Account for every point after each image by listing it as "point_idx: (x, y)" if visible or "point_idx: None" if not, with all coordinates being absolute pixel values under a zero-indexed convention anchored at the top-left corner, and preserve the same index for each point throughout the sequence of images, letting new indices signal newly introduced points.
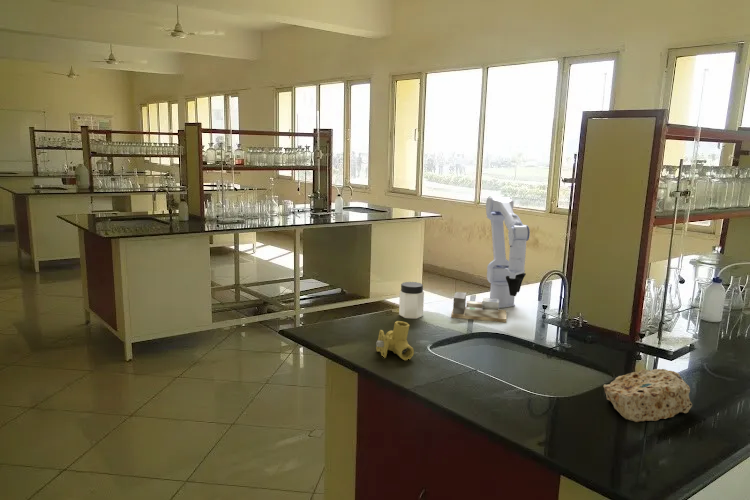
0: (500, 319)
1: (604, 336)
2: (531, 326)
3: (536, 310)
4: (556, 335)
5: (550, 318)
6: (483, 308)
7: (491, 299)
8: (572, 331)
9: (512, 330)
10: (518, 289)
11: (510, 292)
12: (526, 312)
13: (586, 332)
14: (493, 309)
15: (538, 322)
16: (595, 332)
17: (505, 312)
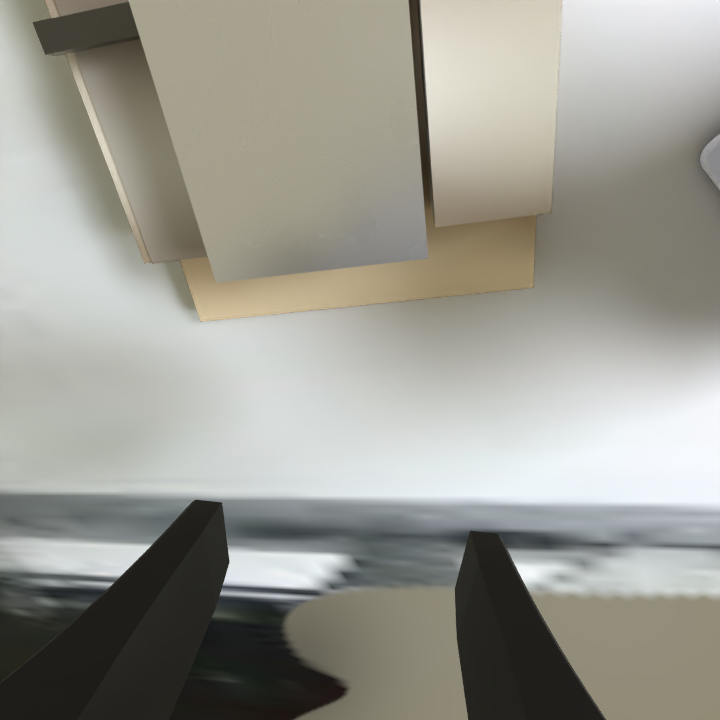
0: (186, 265)
1: (262, 714)
2: (223, 476)
3: (686, 502)
4: None
5: None
6: (44, 44)
7: (335, 132)
8: (260, 637)
9: (41, 371)
10: (462, 632)
11: (162, 545)
12: (602, 439)
13: (280, 676)
14: None
15: (343, 511)
16: (302, 700)
17: (430, 290)
